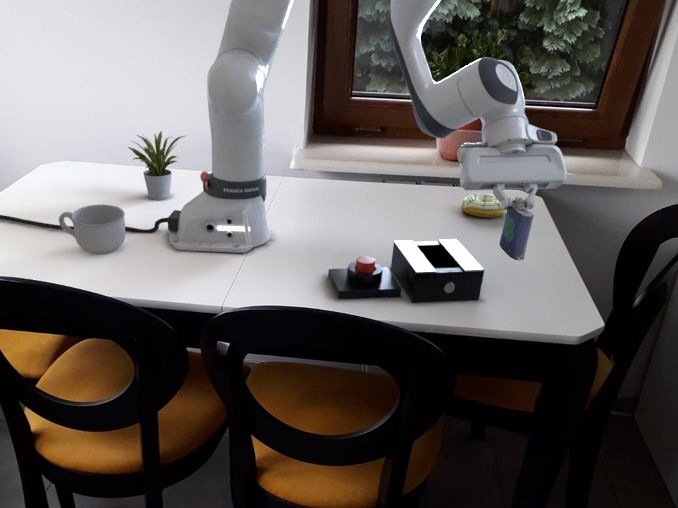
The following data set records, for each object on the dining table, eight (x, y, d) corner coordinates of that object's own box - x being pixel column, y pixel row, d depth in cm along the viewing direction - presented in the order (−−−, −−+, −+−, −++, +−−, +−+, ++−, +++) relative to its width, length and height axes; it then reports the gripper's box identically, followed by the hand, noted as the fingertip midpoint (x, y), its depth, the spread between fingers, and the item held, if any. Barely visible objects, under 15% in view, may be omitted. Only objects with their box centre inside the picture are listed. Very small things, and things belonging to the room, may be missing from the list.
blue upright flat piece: (526, 260, 133) (537, 206, 127) (510, 260, 133) (522, 206, 127) (510, 241, 141) (520, 189, 135) (495, 241, 141) (505, 189, 135)
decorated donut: (463, 203, 181) (465, 188, 179) (506, 208, 178) (509, 194, 176) (458, 216, 172) (461, 201, 170) (504, 221, 169) (507, 206, 167)
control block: (338, 299, 131) (339, 280, 129) (328, 277, 140) (329, 258, 138) (400, 297, 133) (402, 278, 131) (386, 275, 141) (388, 256, 139)
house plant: (176, 183, 189) (173, 121, 181) (199, 198, 179) (197, 133, 171) (126, 191, 182) (120, 127, 174) (147, 207, 172) (142, 140, 164)
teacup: (136, 243, 153) (133, 208, 148) (110, 262, 144) (106, 225, 140) (80, 234, 156) (76, 199, 152) (52, 252, 147) (46, 215, 143)
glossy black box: (413, 304, 130) (417, 273, 127) (390, 269, 144) (393, 240, 140) (487, 302, 132) (493, 271, 129) (458, 267, 145) (462, 238, 142)
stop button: (357, 274, 133) (358, 263, 132) (353, 266, 136) (354, 256, 135) (376, 273, 133) (377, 263, 132) (371, 265, 136) (372, 255, 135)
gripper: (461, 134, 132) (472, 202, 129) (564, 133, 134) (577, 199, 131) (450, 151, 138) (459, 216, 135) (548, 150, 141) (560, 214, 137)
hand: (518, 208), depth 133 cm, fingers closed on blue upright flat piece, 3 cm apart
